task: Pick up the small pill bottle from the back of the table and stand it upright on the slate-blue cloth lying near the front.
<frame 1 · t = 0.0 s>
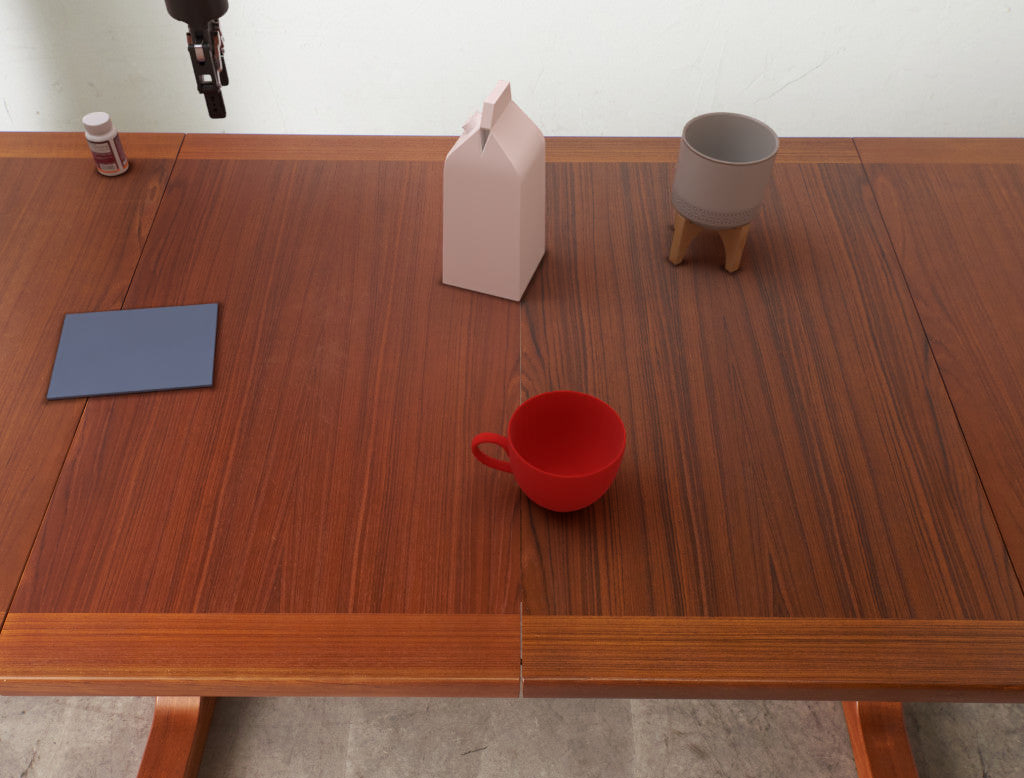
hand: (220, 100, 121), 18 cm above the table, tool pointing down, fingers open, 8 cm apart
pill bottle: (114, 169, 144), on the table
ceramic cup: (543, 490, 105), on the table
milk: (494, 268, 131), on the table
planter: (704, 249, 135), on the table
cloth: (137, 350, 118), on the table
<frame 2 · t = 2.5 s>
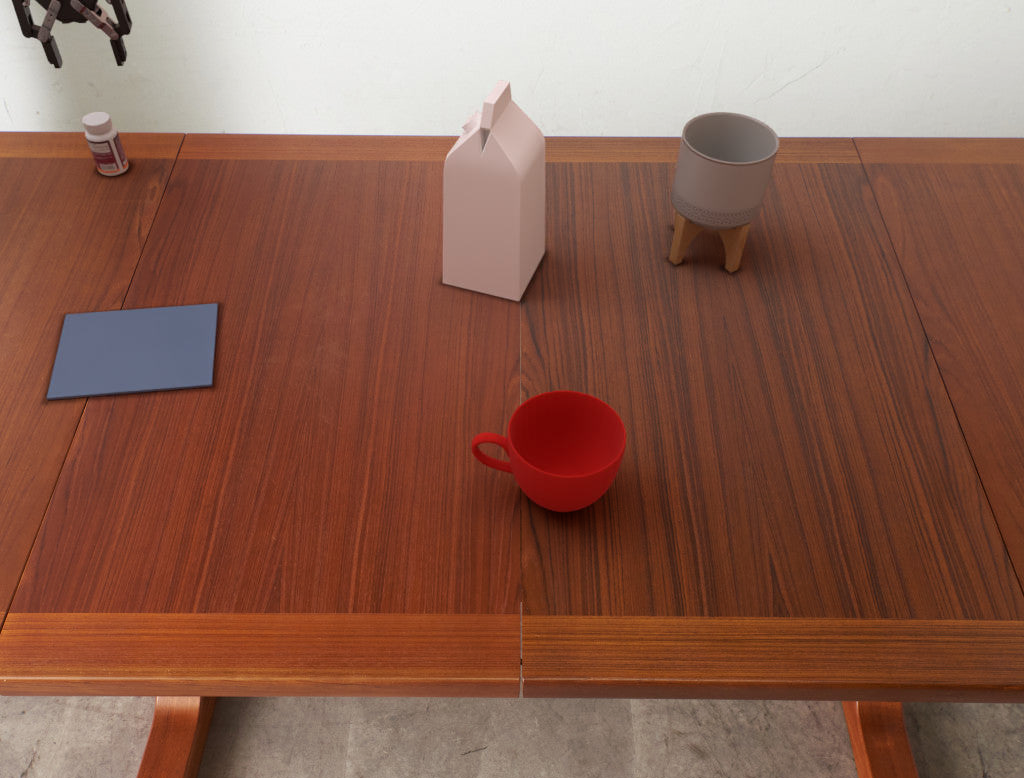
hand: (90, 64, 128), 18 cm above the table, tool pointing down, fingers open, 8 cm apart
nothing on the table moved.
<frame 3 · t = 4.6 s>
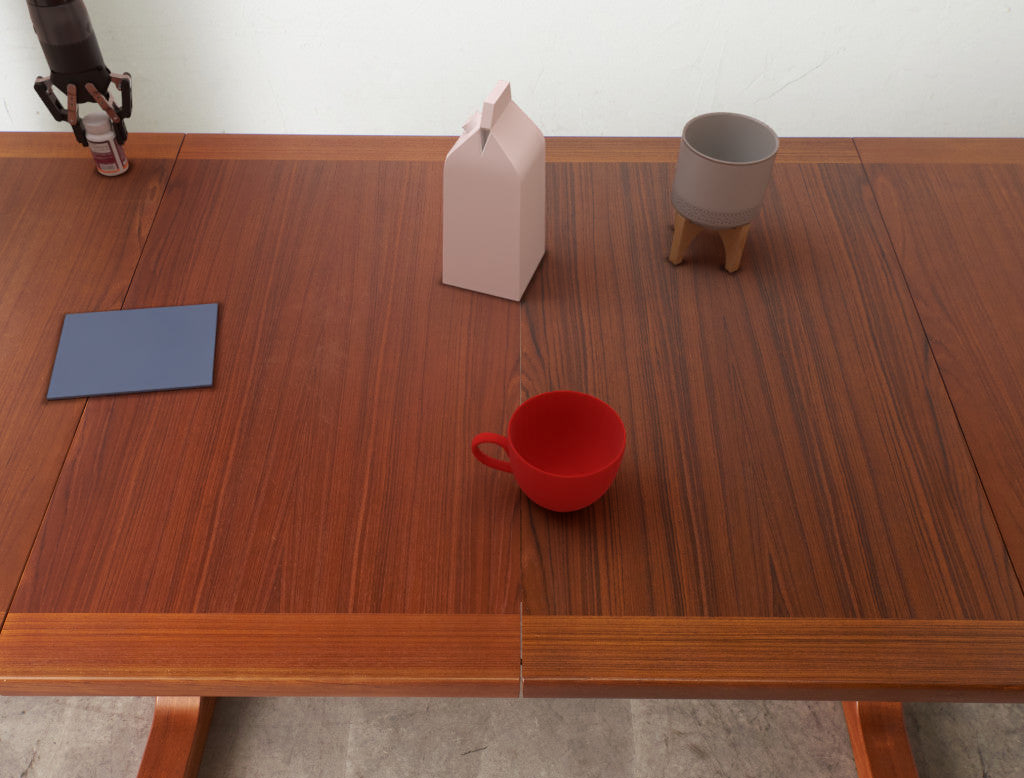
hand: (104, 142, 140), 4 cm above the table, tool pointing down, fingers closed on pill bottle, 4 cm apart
pill bottle: (114, 169, 144), on the table, touching gripper
everything else where it was.
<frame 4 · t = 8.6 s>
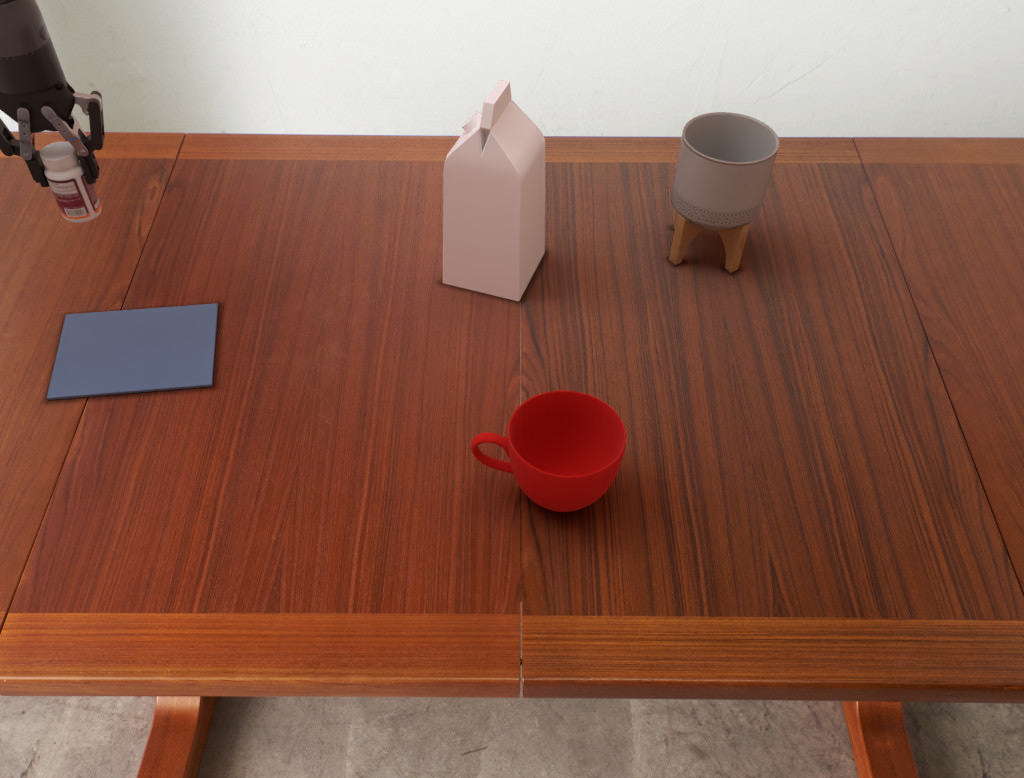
hand: (69, 181, 109), 19 cm above the table, tool pointing down, fingers closed on pill bottle, 4 cm apart
pill bottle: (83, 214, 112), point 14 cm above the table, touching gripper
everything else where it was.
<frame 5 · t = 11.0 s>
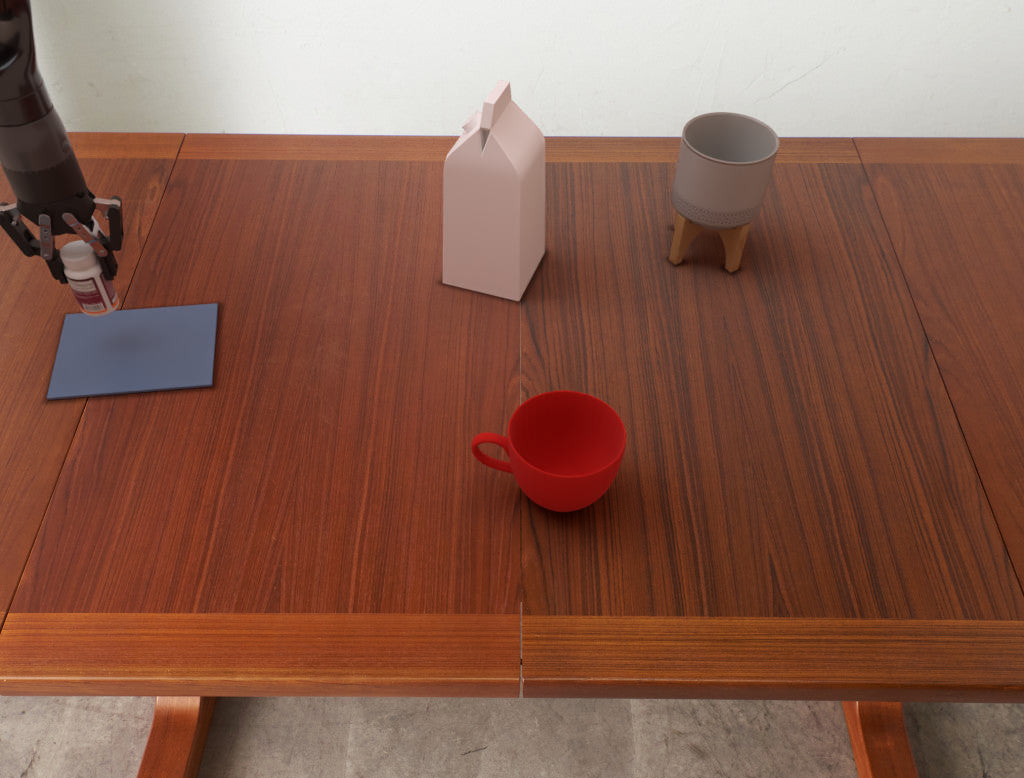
hand: (88, 277, 111), 10 cm above the table, tool pointing down, fingers closed on pill bottle, 4 cm apart
pill bottle: (100, 306, 114), point 6 cm above the table, touching gripper
everything else where it was.
when the fingers open (5 cm above the table, at t = 12.8 s): pill bottle stays where it is, resting on cloth.
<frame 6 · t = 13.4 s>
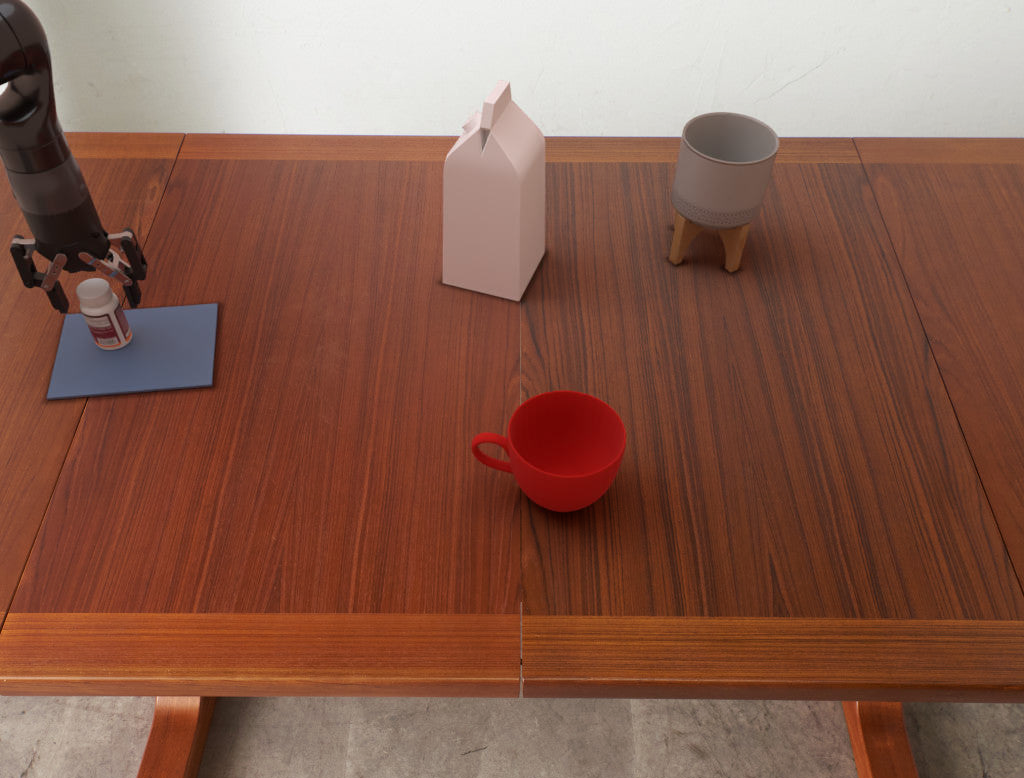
hand: (100, 307, 114), 6 cm above the table, tool pointing down, fingers open, 8 cm apart
pill bottle: (114, 340, 119), resting on cloth
everything else where it was.
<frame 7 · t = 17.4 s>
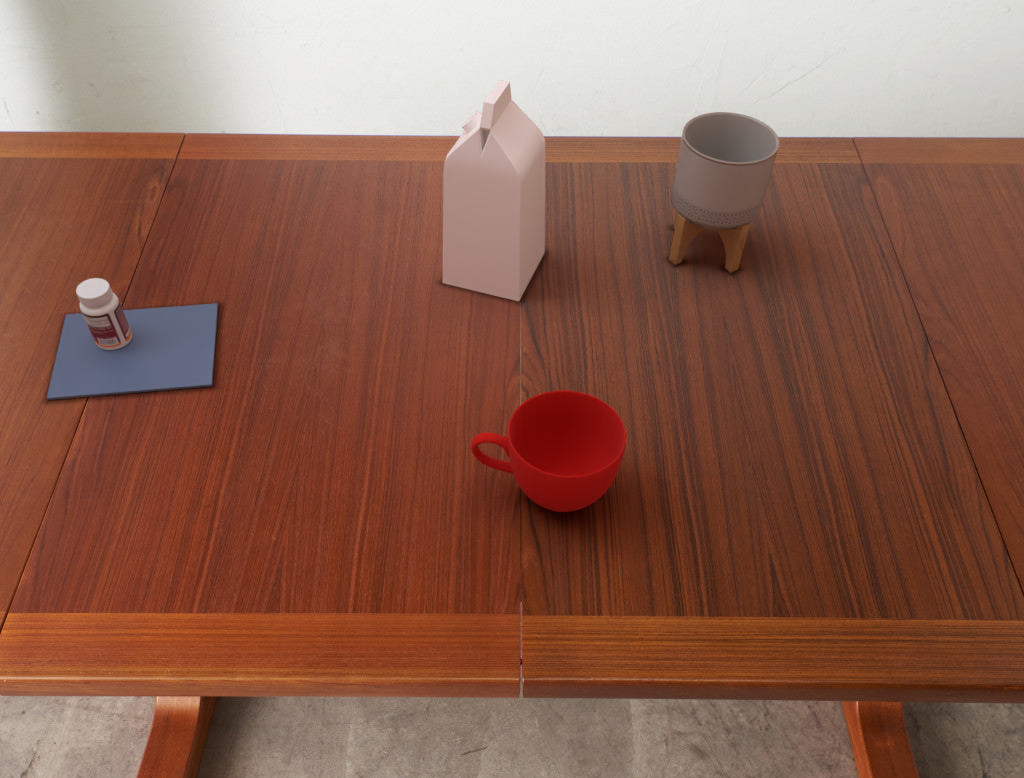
nothing on the table moved.
at the end: pill bottle inside the target area on the cloth (3.7 cm from its centre), point 0.2 cm above the cloth's base; pill bottle tilted 0°; the gripper is holding nothing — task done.
